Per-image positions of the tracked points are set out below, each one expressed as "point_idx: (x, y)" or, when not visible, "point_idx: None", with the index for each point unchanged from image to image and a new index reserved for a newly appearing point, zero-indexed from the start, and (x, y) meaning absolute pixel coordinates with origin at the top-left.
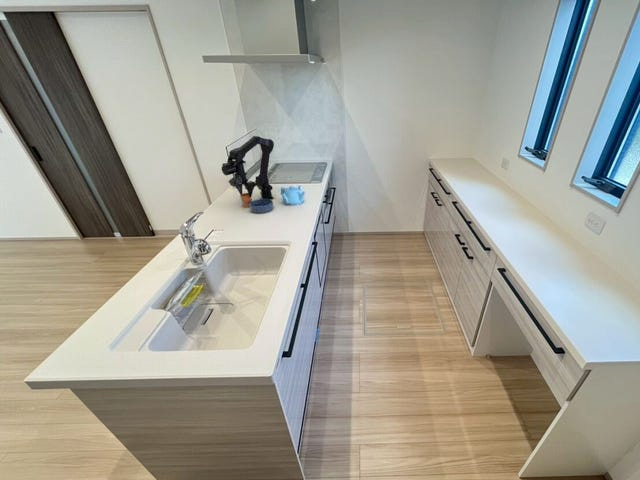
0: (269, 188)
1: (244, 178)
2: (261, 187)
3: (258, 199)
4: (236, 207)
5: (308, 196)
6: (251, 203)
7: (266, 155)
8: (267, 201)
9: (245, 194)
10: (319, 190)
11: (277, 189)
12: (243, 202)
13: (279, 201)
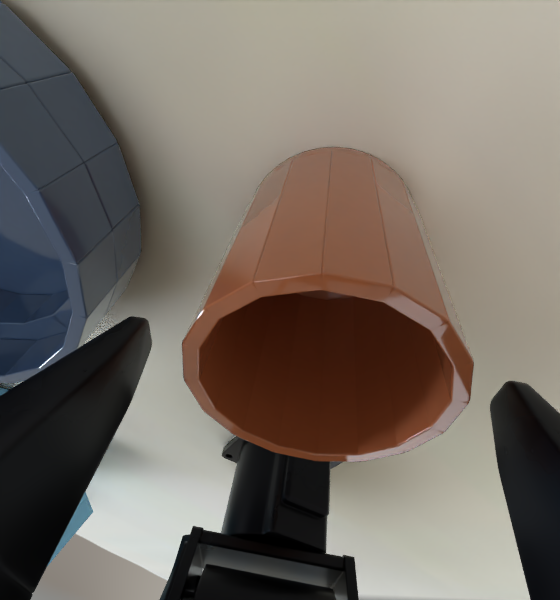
0: (172, 572)
1: None
2: (220, 596)
3: (68, 336)
4: (507, 45)
5: None
6: (25, 156)
7: None
8: (14, 347)
9: (396, 415)
10: (105, 548)
11: (359, 556)
12: (327, 180)
13: None
